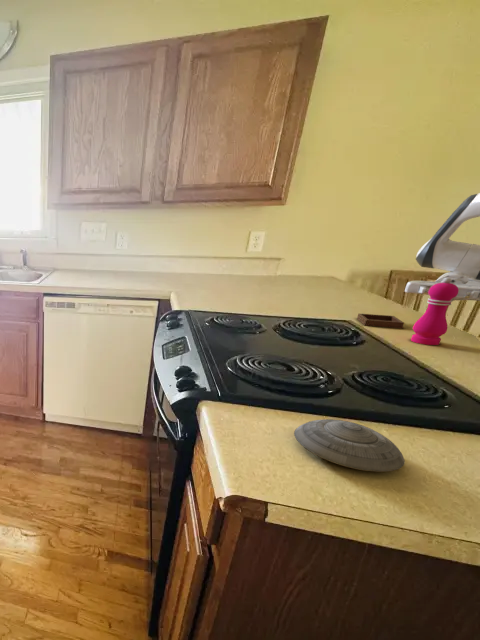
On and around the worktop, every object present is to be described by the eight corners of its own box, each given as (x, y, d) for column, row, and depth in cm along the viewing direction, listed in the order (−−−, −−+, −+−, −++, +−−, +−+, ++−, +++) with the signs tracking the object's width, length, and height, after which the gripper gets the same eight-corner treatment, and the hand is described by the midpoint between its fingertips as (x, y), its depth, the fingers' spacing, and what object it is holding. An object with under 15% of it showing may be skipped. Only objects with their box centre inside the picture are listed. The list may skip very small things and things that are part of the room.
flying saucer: (325, 423, 79) (332, 399, 77) (422, 465, 66) (433, 437, 64) (273, 440, 74) (279, 415, 73) (366, 488, 61) (377, 458, 59)
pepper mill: (434, 347, 118) (459, 280, 111) (403, 340, 124) (425, 277, 117) (446, 343, 121) (471, 278, 114) (415, 337, 127) (437, 274, 120)
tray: (392, 321, 144) (393, 315, 144) (402, 328, 136) (404, 322, 135) (356, 318, 149) (358, 313, 148) (364, 325, 141) (366, 319, 140)
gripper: (411, 274, 139) (404, 280, 131) (501, 281, 124) (500, 287, 116) (405, 292, 141) (398, 298, 133) (493, 301, 126) (491, 308, 118)
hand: (446, 293), depth 125 cm, fingers open, 8 cm apart
